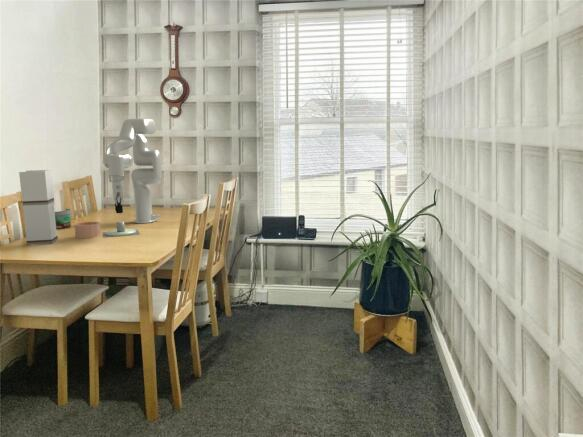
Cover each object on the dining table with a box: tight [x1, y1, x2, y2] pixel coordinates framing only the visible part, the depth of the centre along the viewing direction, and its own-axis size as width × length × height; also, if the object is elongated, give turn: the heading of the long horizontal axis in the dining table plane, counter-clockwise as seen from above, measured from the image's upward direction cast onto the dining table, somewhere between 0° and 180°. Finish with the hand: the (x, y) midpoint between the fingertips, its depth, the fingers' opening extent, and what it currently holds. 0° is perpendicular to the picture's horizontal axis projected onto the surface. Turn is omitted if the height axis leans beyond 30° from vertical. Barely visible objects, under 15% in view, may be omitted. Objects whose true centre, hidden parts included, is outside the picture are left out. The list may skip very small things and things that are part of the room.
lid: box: [105, 221, 137, 237], centre depth 274 cm, size 15×15×6 cm
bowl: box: [74, 221, 102, 239], centre depth 270 cm, size 12×12×7 cm
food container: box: [55, 208, 72, 230], centre depth 299 cm, size 12×6×10 cm, turn 168°
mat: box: [102, 229, 141, 239], centre depth 275 cm, size 18×16×1 cm
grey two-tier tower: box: [18, 169, 59, 246], centre depth 257 cm, size 11×11×35 cm
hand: (119, 212), depth 272 cm, fingers open, 9 cm apart
